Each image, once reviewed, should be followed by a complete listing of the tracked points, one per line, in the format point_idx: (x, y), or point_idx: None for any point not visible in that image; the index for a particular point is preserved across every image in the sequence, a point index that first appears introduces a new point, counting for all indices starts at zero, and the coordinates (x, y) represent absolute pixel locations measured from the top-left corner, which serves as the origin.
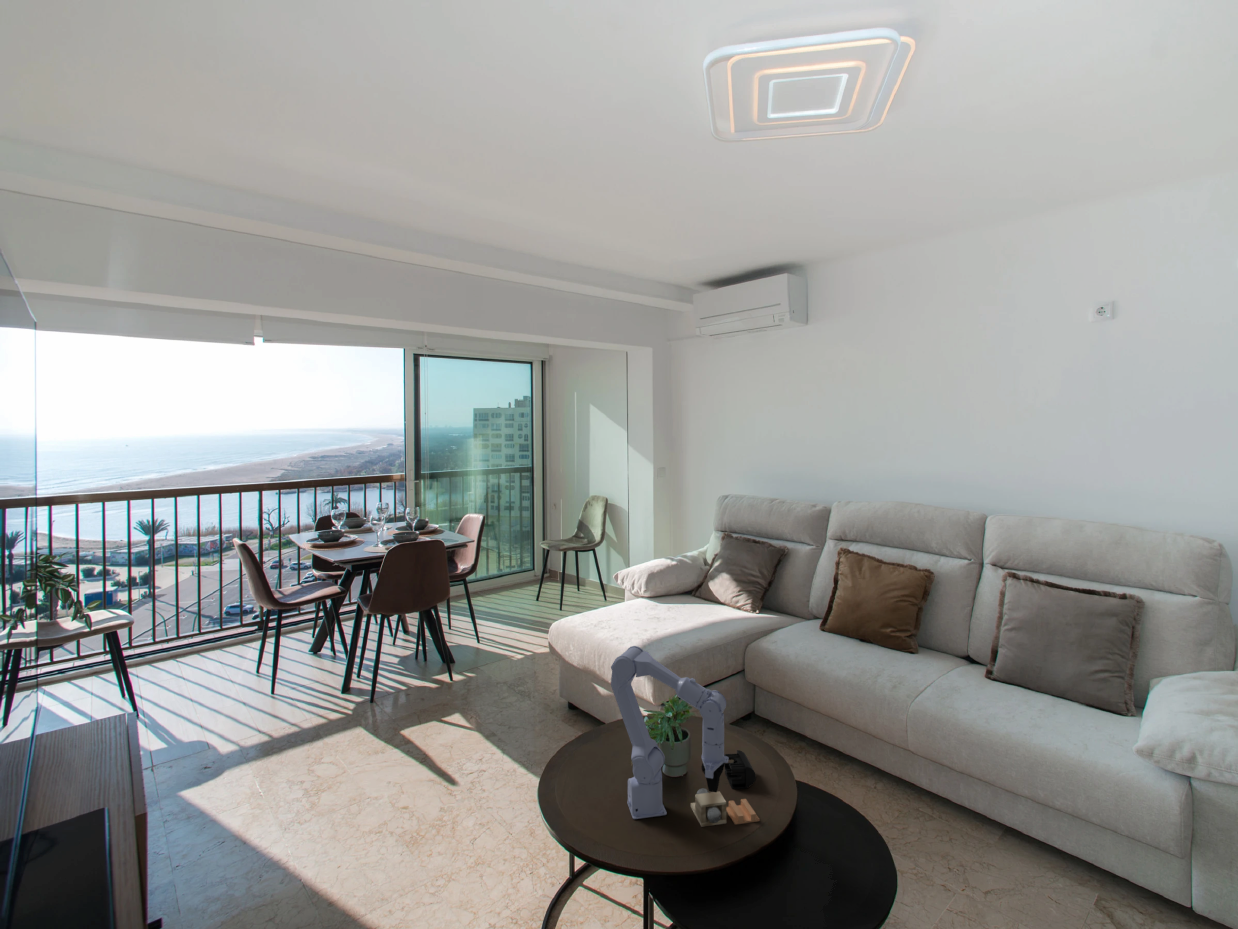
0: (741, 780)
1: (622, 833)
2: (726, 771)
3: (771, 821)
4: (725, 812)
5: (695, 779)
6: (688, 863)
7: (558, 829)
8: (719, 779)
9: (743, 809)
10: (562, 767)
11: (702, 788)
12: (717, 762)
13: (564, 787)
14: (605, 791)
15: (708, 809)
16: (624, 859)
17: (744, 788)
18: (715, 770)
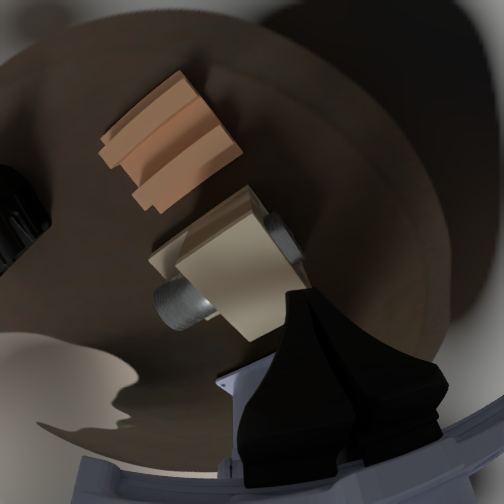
0: (19, 206)
1: None
2: (10, 264)
3: (164, 34)
4: (252, 200)
5: (80, 327)
6: (445, 246)
7: None
8: (288, 326)
9: (141, 145)
10: (210, 469)
11: (167, 324)
12: (472, 469)
13: None
14: None
15: None
16: (431, 350)
17: (31, 188)
18: (436, 415)
